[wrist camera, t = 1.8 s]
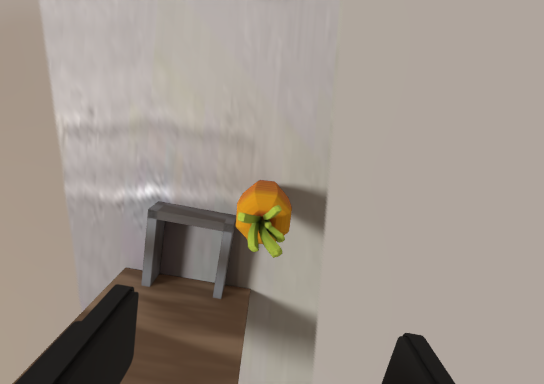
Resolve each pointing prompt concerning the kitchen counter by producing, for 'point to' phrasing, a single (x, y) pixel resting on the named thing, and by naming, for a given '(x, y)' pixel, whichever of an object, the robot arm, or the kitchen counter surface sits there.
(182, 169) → the kitchen counter surface
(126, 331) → the robot arm
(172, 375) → the wall holder
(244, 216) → the carrot
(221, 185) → the kitchen counter surface
